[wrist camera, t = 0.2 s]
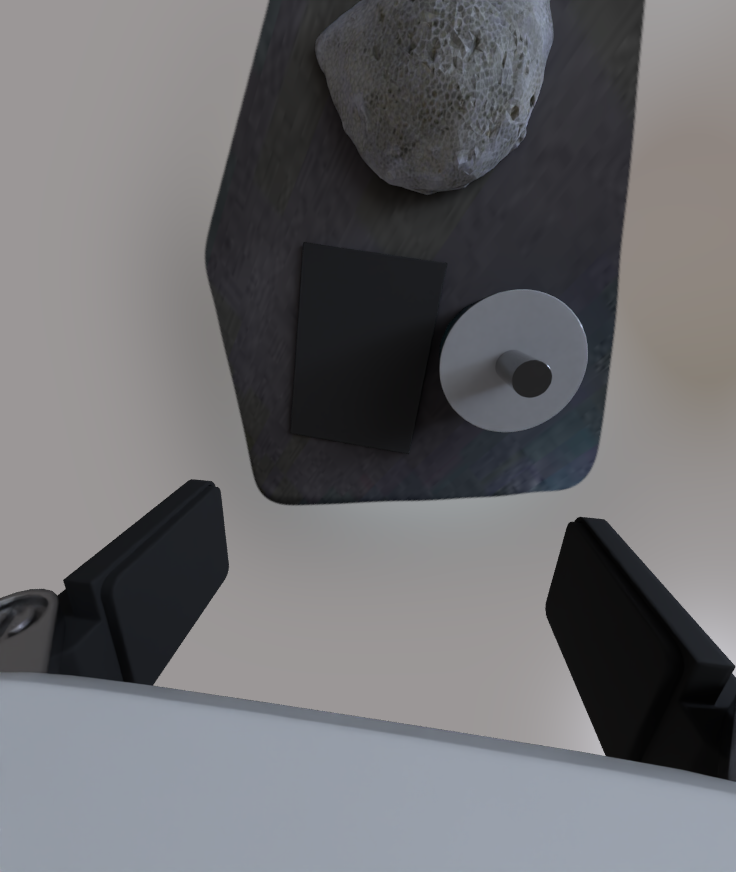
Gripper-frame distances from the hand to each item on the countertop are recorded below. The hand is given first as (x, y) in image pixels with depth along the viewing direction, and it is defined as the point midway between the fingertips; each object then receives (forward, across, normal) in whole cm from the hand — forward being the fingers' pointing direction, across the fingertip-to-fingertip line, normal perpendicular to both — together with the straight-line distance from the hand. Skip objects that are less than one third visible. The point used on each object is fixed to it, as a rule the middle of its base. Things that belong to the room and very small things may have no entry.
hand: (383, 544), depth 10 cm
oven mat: (+31, +5, -1) cm, 31 cm away
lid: (+23, -9, -2) cm, 25 cm away
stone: (+31, -1, -23) cm, 39 cm away
